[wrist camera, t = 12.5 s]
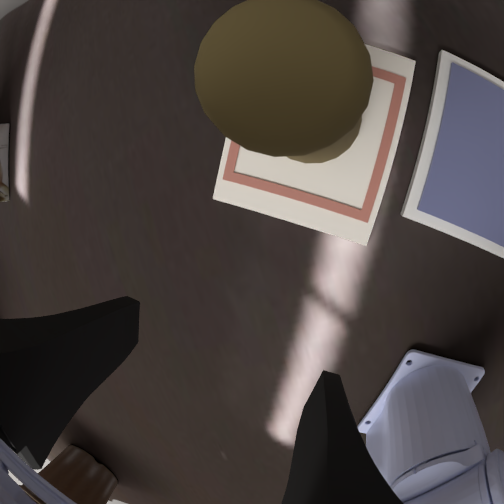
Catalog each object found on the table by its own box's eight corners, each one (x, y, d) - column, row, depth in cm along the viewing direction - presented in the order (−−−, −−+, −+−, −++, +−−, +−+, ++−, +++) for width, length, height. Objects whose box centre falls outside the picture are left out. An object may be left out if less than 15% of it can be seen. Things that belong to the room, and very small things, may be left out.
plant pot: (142, 497, 42) (106, 553, 27) (91, 478, 48) (56, 522, 33) (96, 447, 39) (45, 508, 24) (50, 429, 44) (5, 474, 29)
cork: (249, 79, 17) (147, 9, 6) (347, 57, 15) (351, -51, 5) (272, 172, 18) (186, 198, 8) (371, 154, 16) (423, 154, 6)
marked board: (365, 244, 18) (366, 246, 18) (215, 197, 20) (212, 199, 19) (413, 63, 14) (416, 60, 13) (257, 25, 16) (255, 22, 15)
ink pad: (506, 258, 16) (512, 263, 15) (400, 213, 17) (403, 217, 16) (542, 113, 12) (550, 112, 11) (438, 52, 13) (443, 48, 12)
